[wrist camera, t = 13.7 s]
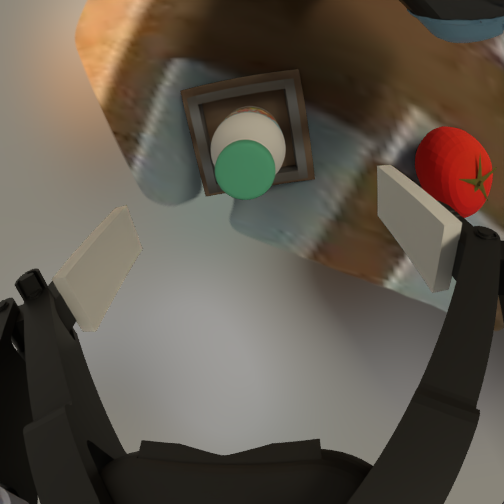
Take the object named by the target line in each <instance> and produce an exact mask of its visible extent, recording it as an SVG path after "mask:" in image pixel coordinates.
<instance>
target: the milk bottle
mask: <svg viewBox="0 0 504 504" xmlns="http://www.w3.org/2000/svg"><path fill="white" fill-rule="evenodd" d="M285 152H286V146H285V140H284V136H283V133H282V131H281V129H280V127H279V125H278V123H277V122H276V120H275V118H274V117H273V116H272V115H271V114H270V113H269V112H267V111H266V110H264V109H262V108H260V107H255V106H245V107H241V108H239V109H236V110H235V111H233V112H232V113H231V114H229V115H228V116H227V117H226V118H225V119H224V120H223V122H222V123H221V124H220V125H219V126H218V128H217V130H216V131H215V133H214V135H213V138H212V142H211V158H212V161H213V164H214V166H215V177H216V180H217V183H218V185H219V186H220V188H221V189H222V190H223V191H224V192H225V193H226V194H228V195H229V196H231V197H233V198H236V199H241V200H249V199H254V198H257V197H259V196H261V195H263V194H264V193H265V192H266V191H267V190H268V189H269V188H270V187H271V185H272V183H273V181H274V178H275V175H276V173H277V172H278V171H279V169H280V168H281V166H282V164H283V161H284V158H285Z"/></svg>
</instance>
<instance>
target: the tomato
mask: <svg viewBox="0 0 504 504" xmlns="http://www.w3.org/2000/svg"><path fill="white" fill-rule="evenodd" d="M496 168H497V167H496ZM496 168H494V169H493V170H492V165H491V161H490V158H489V156H488V154H487V152H486V151H485V150H484V148H483V147H482V145H481V144H480V143H479V142H478V141H477V140H476V139H475V138H474V137H473V136H471V135H470V134H468V133H467V132H465V131H463V130H461V129H458V128H452V127H443V126H442V127H439V128H436V129H433V130H432V131H430V132H429V133H428V134H427V135H426V136H425V137H424V138H423V140H422V141H421V143H420V144H419V146H418V149H417V152H416V157H415V169H416V174H417V177H418V179H419V182H420V184H421V187H422V189H423V190H424V191H426V192H427V193H428V194H429V195H430V196H432V197H433V198H434V199H435V200H436V201H441V202H443V203H445V204H447V205H449V206H450V207H452V208H453V209H454V210H455V212H457V213H459V214H460V216H462V217H463V218H465V217H469V216H471V215H473V214H474V213H476V212H477V211H478V210H479V209H480V208H481V207H482V205H483V204H484V202H485V201H486V199H487V196H488V194H489V191H490V189H491V185H492V177H493V171H494V170H495V169H496ZM487 201H488V199H487Z"/></svg>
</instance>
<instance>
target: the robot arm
mask: <svg viewBox="0 0 504 504" xmlns="http://www.w3.org/2000/svg"><path fill="white" fill-rule="evenodd" d="M399 1H400V2H401V3H402V4H403V5H404V6H405V7H406V8H407V11H408V12H409V13H410V14H411V15H412V16H414V17H416V18H417V19H418V20H419V21H420V22H421V23H422V24H423V25H424V26H425V27H426V28H427V29H428V30H429V31H430V32H431V33H432V34H433V35H435V36H436V37H438V38H440V39H443V40H445V41H448V42H453V43H470V42H477V41H482V40H486V39H490V38H493V37H496V36H498V35H501V34H502V33H503V30H504V0H399ZM377 179H378V217H379V218H380V219H381V220H382V222H383V223H384V224H385V226H386V227H387V228H388V230H389V231H390V232H391V234H392V235H393V236H394V238H395V239H396V240H397V242H398V243H399V245H400V246H401V247H402V249H403V250H404V252H405V253H406V254H407V256H408V257H409V259H410V260H411V262H412V263H413V265H414V266H415V267H416V269H417V270H418V272H419V273H420V275H421V276H422V278H423V279H424V281H425V282H426V284H427V286H428V287H429V289H430V290H431V292H432V293H434V292H439V291H443V290H448V289H449V286H450V282H451V278H452V276H453V277H454V279H455V280H456V281H457V282H456V285H455V289H454V292H453V296H452V299H451V302H450V306H449V309H448V312H447V315H446V318H445V321H444V324H443V327H442V330H441V332H440V335H439V338H438V341H437V343H436V346H435V348H434V351H433V353H432V356H431V359H430V361H429V363H428V366H427V368H426V370H425V373H424V375H423V377H422V379H421V382H420V384H419V386H418V388H417V389H416V391H415V394H414V395H413V397H412V400H411V402H410V404H409V406H408V407H407V410H406V411H405V413H404V415H403V417H402V419H401V421H400V423H399V424H398V426H397V428H396V430H395V432H394V433H393V435H392V437H391V438H390V440H389V442H388V444H387V445H386V447H385V449H384V450H383V452H382V453H381V455H380V457H379V458H378V460H377V461H376V463H375V464H374V466H372V465H371V464H369V463H367V462H365V461H364V460H362V459H360V458H357V457H355V456H353V455H349V454H346V453H343V452H339V451H333V450H326V449H321V446H320V439H313V440H305V441H296V442H285V443H272V444H269V445H265V446H262V447H258V448H255V449H251V450H247V451H243V452H239V453H235V454H230V455H217V454H213V453H210V452H206V451H203V450H199V449H196V448H192V447H189V446H186V445H182V444H175V443H164V442H153V441H144V440H143V441H141V446H140V450H139V451H137V452H133V453H129V454H127V453H126V452H125V451H124V449H123V447H122V445H121V443H120V441H119V439H118V437H117V435H116V433H115V431H114V429H113V427H112V425H111V422H110V420H109V418H108V416H107V414H106V411H105V409H104V407H103V404H102V402H101V400H100V397H99V395H98V393H97V390H96V387H95V385H94V382H93V380H92V377H91V374H90V372H89V369H88V366H87V363H86V360H85V358H84V355H83V352H82V348H81V345H80V342H79V339H78V336H77V333H76V332H75V330H74V329H73V326H74V324H75V322H77V323H78V324H79V326H80V328H81V329H82V331H83V332H90V331H97V329H98V327H99V325H100V323H101V321H102V319H103V317H104V315H105V314H106V312H107V310H108V308H109V306H110V305H111V303H112V301H113V299H114V297H115V295H116V294H117V292H118V290H119V288H120V287H121V285H122V283H123V281H124V280H125V278H126V276H127V274H128V273H129V271H130V269H131V267H132V266H133V264H134V263H135V261H136V259H137V258H138V256H139V254H140V253H141V251H142V249H143V248H142V245H141V243H140V240H139V237H138V235H137V232H136V229H135V226H134V224H133V221H132V218H131V215H130V213H129V209H128V207H127V205H126V206H121V207H117V208H115V209H114V210H113V211H112V212H111V213H110V214H109V215H108V216H107V217H106V218H105V219H104V220H103V221H102V222H101V223H100V224H99V225H98V227H97V228H96V229H95V230H94V231H93V232H92V233H91V234H90V236H88V237H87V238H86V240H85V241H84V242H83V243H82V244H81V245H80V246H79V247H78V249H77V250H76V251H75V252H74V253H73V254H72V255H71V257H70V258H69V259H68V260H67V261H66V262H65V264H64V265H63V266H62V267H61V269H60V270H59V271H58V272H57V273H56V275H55V276H54V277H53V278H52V280H53V281H52V282H51V283H50V284H49V286H47V284H46V282H45V280H44V278H43V276H42V275H41V273H40V271H39V269H32V270H30V271H28V272H26V273H25V274H23V275H22V276H21V277H20V278H19V279H18V280H17V281H16V283H15V286H16V288H17V290H18V292H19V293H20V295H21V297H22V298H23V300H24V304H23V305H20V306H17V304H16V302H15V301H14V299H13V298H8V299H6V300H2V301H1V302H0V504H37V500H38V497H39V500H40V503H41V504H444V502H445V500H446V498H447V496H448V494H449V492H450V490H451V488H452V486H453V484H454V482H455V480H456V478H457V475H458V473H459V471H460V469H461V466H462V464H463V461H464V459H465V457H466V454H467V451H468V449H469V447H470V444H471V441H472V439H473V436H474V433H475V430H476V427H477V424H478V420H479V416H480V410H478V409H476V405H477V401H478V398H479V394H480V390H481V387H482V383H483V379H484V375H485V371H486V367H487V362H488V358H489V353H490V347H491V342H492V337H493V330H494V324H495V317H496V309H497V300H498V295H499V300H500V305H501V310H502V315H503V321H504V241H500V237H499V235H498V234H497V233H496V232H495V231H493V230H492V229H489V228H486V227H482V226H474V227H473V226H472V225H471V224H470V223H469V222H468V221H467V220H465V219H464V218H463V217H462V216H460V214H459V213H457V212H455V210H454V209H453V208H452V207H450V206H449V205H447V204H445V203H443V202H441V201H436V200H435V199H434V198H433V197H432V196H430V195H429V194H428V193H427V192H426V191H424V190H423V189H422V188H421V187H419V186H418V185H417V184H415V183H414V182H413V181H412V180H410V179H409V178H408V177H406V176H405V175H404V174H402V173H401V172H400V171H398V170H397V169H396V168H394V167H393V166H391V165H383V166H377ZM12 343H13V344H14V345H15V347H16V348H17V351H16V349H15V348H14V346H13V344H12ZM502 504H504V502H503V503H502Z"/></svg>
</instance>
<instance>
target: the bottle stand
mask: <svg viewBox="0 0 504 504" xmlns="http://www.w3.org/2000/svg"><path fill="white" fill-rule="evenodd" d="M181 95H182V100H183V104H184V109H185V113H186V117H187V121H188V126H189V130H190V134H191V138H192V143H193V147H194V151H195V155H196V159H197V163H198V167H199V171H200V175H201V179H202V183H203V187H204V191H205V195H206V196H211V195H217V194H222V193H225V192H224V191H223V190H222V189H221V188H220V186H219V185H218V183H217V180H216V177H215V166H214V164H213V161H212V158H211V142H212V138H213V135H214V133H215V131H216V130H217V128H218V126H219V125H220V124H221V123H222V122H223V120H224V119H225V118H226V117H227V116H228V115H229V114H231V113H232V112H233V111H235V110H236V109H239V108H241V107H245V106H255V107H260V108H262V109H264V110H266V111H267V112H269V113H270V114H271V115H272V116H273V117H274V118H275V120H276V122H277V123H278V125H279V127H280V129H281V131H282V133H283V136H284V140H285V146H286V152H285V158H284V161H283V164H282V166H281V168H280V169H279V171H278V172H277V173H276V175H275V178H274V181H273V183H272V185H277V184H284V183H291V182H298V181H305V180H312V179H315V176H314V167H313V159H312V151H311V143H310V136H309V129H308V122H307V115H306V109H305V102H304V96H303V90H302V84H301V78H300V73H299V69H294V70H285V71H278V72H270V73H263V74H257V75H251V76H245V77H240V78H234V79H229V80H224V81H219V82H215V83H210V84H206V85H202V86H197V87H193V88H189V89H185V90H182V91H181Z"/></svg>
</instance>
